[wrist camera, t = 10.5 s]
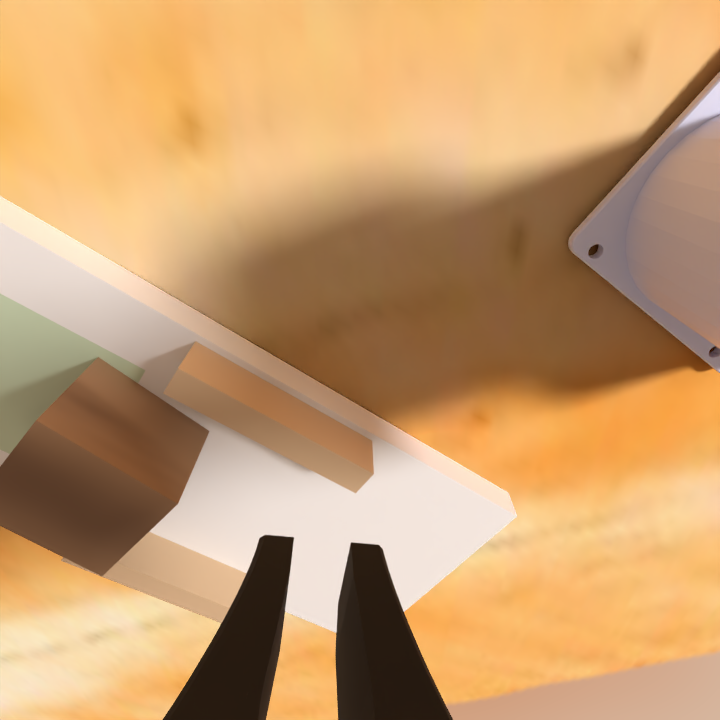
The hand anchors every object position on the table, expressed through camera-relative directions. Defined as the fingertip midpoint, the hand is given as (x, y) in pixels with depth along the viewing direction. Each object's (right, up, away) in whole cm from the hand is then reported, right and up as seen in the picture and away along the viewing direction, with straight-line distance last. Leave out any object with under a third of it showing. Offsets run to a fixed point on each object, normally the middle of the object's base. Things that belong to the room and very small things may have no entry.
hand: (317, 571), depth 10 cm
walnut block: (-9, +2, +9) cm, 13 cm away
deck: (-8, +2, +11) cm, 14 cm away
